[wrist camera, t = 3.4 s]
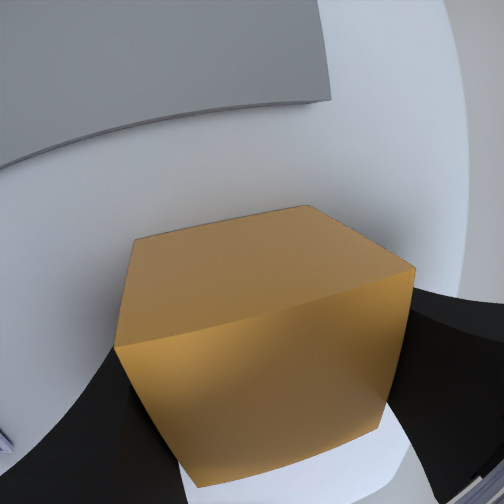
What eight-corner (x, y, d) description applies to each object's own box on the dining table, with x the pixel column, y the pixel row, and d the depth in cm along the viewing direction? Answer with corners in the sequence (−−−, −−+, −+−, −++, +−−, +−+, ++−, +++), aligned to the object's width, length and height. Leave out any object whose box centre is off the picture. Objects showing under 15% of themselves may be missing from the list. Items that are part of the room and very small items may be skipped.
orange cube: (177, 373, 11) (197, 488, 6) (134, 239, 9) (113, 347, 4) (312, 338, 12) (377, 428, 8) (307, 205, 10) (416, 267, 5)
